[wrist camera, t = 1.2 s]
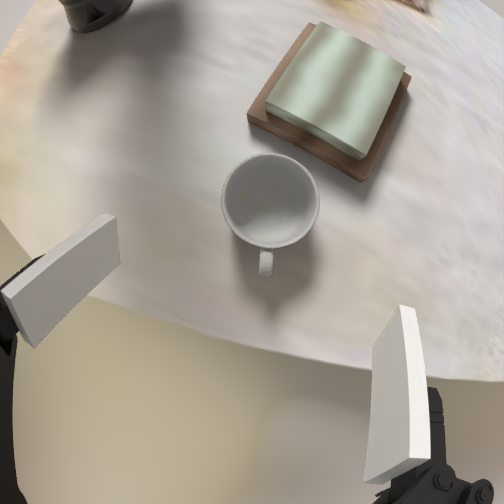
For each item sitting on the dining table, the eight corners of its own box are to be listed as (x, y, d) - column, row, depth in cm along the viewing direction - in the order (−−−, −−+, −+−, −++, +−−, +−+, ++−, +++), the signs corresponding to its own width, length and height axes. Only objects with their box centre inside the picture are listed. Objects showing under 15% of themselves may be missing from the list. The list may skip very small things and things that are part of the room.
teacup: (241, 160, 40) (235, 142, 32) (318, 180, 39) (330, 166, 31) (215, 258, 40) (202, 263, 32) (292, 279, 40) (298, 289, 32)
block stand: (247, 121, 39) (245, 103, 33) (307, 32, 38) (311, 10, 32) (360, 182, 39) (375, 173, 33) (404, 84, 38) (419, 68, 32)
